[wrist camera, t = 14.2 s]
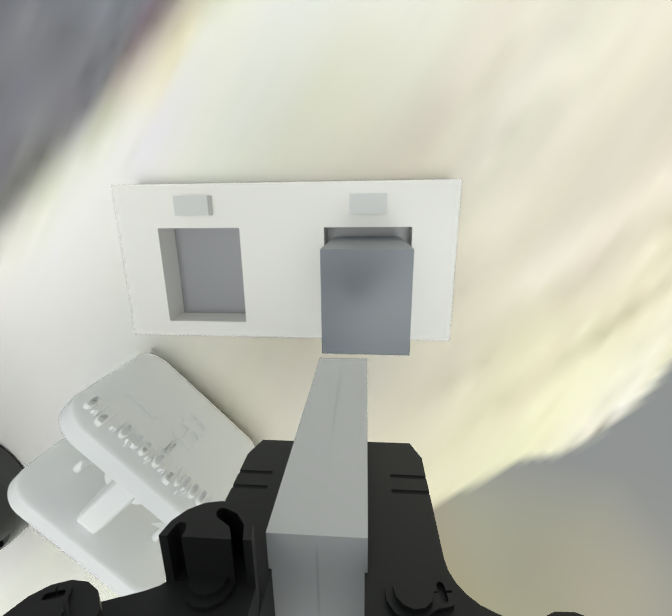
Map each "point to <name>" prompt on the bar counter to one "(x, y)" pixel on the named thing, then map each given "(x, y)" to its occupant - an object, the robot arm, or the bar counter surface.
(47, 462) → the cable organizer
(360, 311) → the plug
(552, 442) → the bar counter surface
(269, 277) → the socket plate
